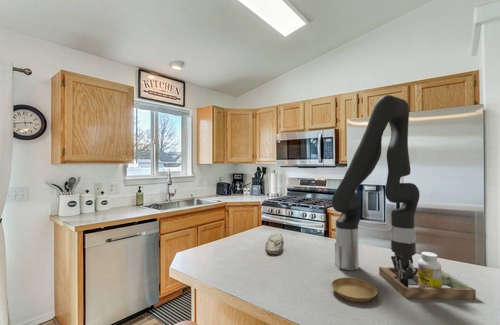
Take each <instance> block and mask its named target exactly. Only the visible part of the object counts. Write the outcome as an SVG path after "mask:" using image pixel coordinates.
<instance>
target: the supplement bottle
mask: <svg viewBox="0 0 500 325" xmlns="http://www.w3.org/2000/svg"><path fill="white" fill-rule="evenodd" d="M420 254H421V255H420V256H421V258H420V259H419V260H418V262H417V267H418V282H419V285H418V287H420V288H443V287H442V286H443V285H442V280H441V271H442V264H441V263H440V262H439V261H438V259H439V258H438V254H436V253H434V252H431V251H430V252H429V251H422V252H421V253H420Z"/></svg>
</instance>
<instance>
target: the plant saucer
mask: <svg viewBox="0 0 500 325" xmlns="http://www.w3.org/2000/svg"><path fill="white" fill-rule="evenodd" d="M330 286H331V288H332V289H333V290H334V291H335V293H336V294H338V296H339V297H341V298H342V299H345V300H346V301H349V302H355V303H365V302H369V301H370V300H371V301H372V299H374V298H375V297H376V295H378V289H377V287H376V286H375V284H372V283H371V282H368V281H366V280H363V279H359V278H357V277H356V278H354V277H339V278H336V279H333V280H332V281H331V285H330Z"/></svg>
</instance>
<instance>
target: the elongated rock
mask: <svg viewBox="0 0 500 325" xmlns="http://www.w3.org/2000/svg"><path fill="white" fill-rule="evenodd" d="M284 243H285V241H284V236H283V234H282V233H280V232H278V233H277V232H276V233H272V234H270V235H269V238H268V239H267V241H266V243H265V250H266V252H267V253H268V254H269V255H273V254H274V255H279V254H280V253H282V251H283V249H284ZM279 252H280V253H279Z"/></svg>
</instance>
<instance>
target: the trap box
mask: <svg viewBox="0 0 500 325" xmlns="http://www.w3.org/2000/svg"><path fill="white" fill-rule="evenodd" d="M414 268H417V269H418V266H417V267H415V266H414ZM378 275H379V276H380V277H381V278H383V279H384V280H385V281H386V282H387V283H388V284H389V285H390V286H391V287H392V288H394V289H395V290H396V291H397V292H398V293H399V294H400V295H401V296H403V297H404V298H405V299H431V300H432V299H433V300H434V299H435V300H436V299H437V300H438V299H440V300H442V299H444V300H450V299H451V300H455V299H456V300H477V297H476V295H477V292H476V289H475V288H473V287H471V286H469V285H468V284H466V283H464V282H462V281H460V280H459V279H457V278H455V277H453V276H452V275H450V274H448V273H446V272H444V271H443V270H441V280H442V286H450V287H442V288H420V287H419V282H418V272H417V273H416V275H415V276H414V278H413V279H408V285H409V286H408V287H406V286H405V285H403V284H402V283H401V282H400V277H399V276H398V273H396V271H395V268H394V266H379V267H378ZM412 285H416V286H418V287H410V286H412Z"/></svg>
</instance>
